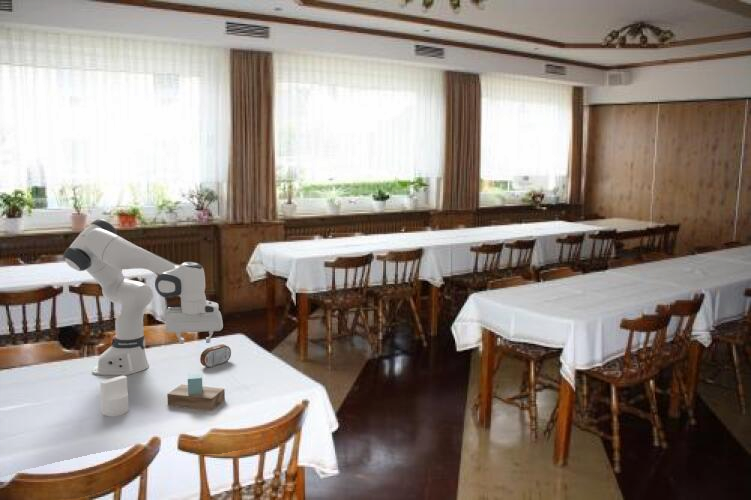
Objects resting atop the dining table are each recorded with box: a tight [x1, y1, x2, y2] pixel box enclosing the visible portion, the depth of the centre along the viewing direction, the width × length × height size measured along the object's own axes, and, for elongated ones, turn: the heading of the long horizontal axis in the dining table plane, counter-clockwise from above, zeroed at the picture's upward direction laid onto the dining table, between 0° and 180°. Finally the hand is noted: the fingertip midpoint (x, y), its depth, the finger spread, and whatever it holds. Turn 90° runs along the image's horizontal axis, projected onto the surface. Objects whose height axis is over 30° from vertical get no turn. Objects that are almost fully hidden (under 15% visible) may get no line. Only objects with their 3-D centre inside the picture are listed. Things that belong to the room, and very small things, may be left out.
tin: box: [199, 344, 232, 368], centre depth 277 cm, size 15×3×8 cm, turn 141°
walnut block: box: [166, 383, 226, 411], centre depth 235 cm, size 10×18×5 cm, turn 77°
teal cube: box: [187, 373, 204, 395], centre depth 234 cm, size 5×5×6 cm
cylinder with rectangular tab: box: [99, 375, 130, 417], centre depth 227 cm, size 9×9×12 cm
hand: (195, 342), depth 232 cm, fingers open, 8 cm apart
